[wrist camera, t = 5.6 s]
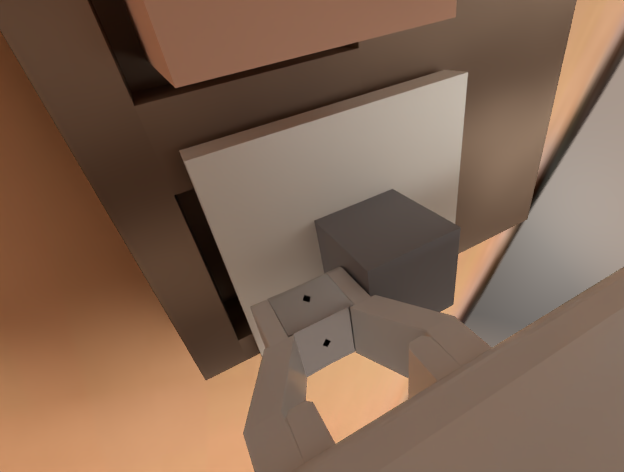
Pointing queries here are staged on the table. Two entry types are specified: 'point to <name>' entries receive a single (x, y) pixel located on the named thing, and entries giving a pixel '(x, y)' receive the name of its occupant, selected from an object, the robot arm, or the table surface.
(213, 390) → the table surface
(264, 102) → the board
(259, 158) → the lid
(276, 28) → the block
